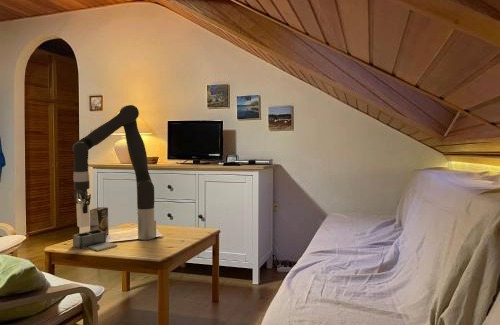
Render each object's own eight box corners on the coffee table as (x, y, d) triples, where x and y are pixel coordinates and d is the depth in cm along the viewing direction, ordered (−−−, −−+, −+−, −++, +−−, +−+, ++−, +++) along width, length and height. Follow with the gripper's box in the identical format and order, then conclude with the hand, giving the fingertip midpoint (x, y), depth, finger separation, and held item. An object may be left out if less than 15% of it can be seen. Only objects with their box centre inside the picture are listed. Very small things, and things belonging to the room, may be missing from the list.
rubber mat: (108, 243, 206) (108, 241, 206) (117, 246, 200) (117, 244, 200) (88, 247, 197) (88, 246, 197) (97, 251, 192) (97, 249, 192)
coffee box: (100, 238, 215) (99, 210, 214) (89, 237, 216) (89, 209, 215) (109, 234, 224) (108, 207, 223) (99, 233, 225) (98, 206, 224)
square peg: (85, 224, 203) (84, 202, 202) (89, 226, 201) (88, 203, 200) (77, 226, 200) (76, 203, 199) (81, 227, 197) (80, 204, 196)
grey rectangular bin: (98, 240, 212) (97, 229, 211) (105, 242, 206) (105, 232, 206) (73, 246, 201) (72, 234, 200) (80, 249, 196) (80, 237, 195)
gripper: (95, 180, 197) (96, 213, 198) (81, 178, 206) (83, 209, 207) (81, 182, 191) (82, 215, 192) (67, 179, 200) (69, 212, 201)
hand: (82, 212), depth 200 cm, fingers closed on square peg, 4 cm apart
